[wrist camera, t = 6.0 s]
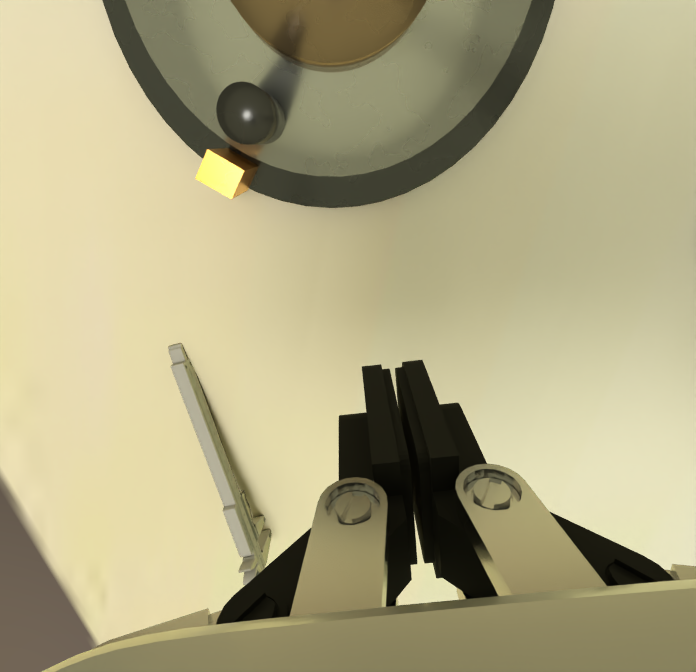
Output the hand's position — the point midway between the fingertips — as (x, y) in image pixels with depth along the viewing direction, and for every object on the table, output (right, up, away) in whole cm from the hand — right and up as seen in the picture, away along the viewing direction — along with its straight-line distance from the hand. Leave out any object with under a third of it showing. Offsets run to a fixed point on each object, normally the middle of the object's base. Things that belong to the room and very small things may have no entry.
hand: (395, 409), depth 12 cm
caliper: (-12, -7, +25) cm, 28 cm away
